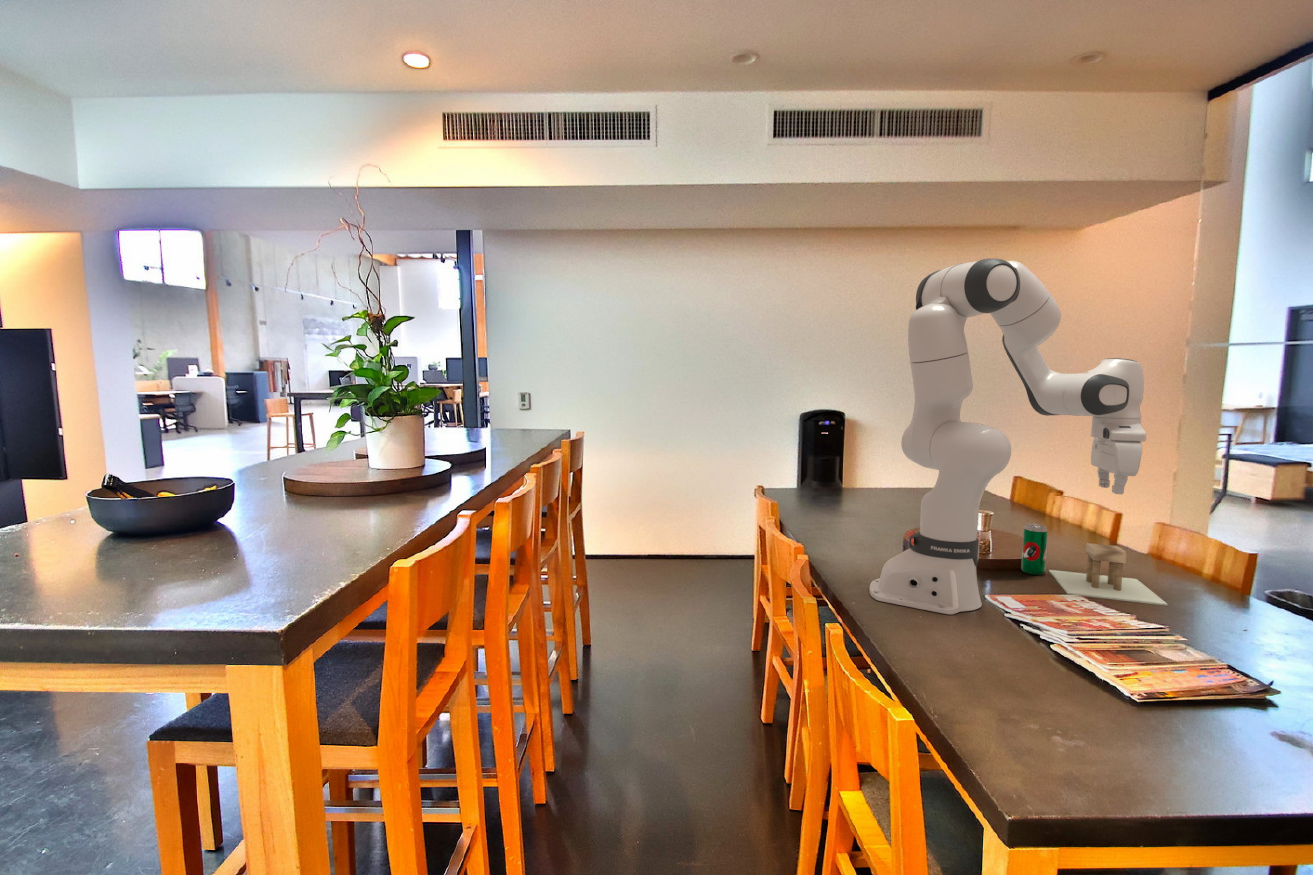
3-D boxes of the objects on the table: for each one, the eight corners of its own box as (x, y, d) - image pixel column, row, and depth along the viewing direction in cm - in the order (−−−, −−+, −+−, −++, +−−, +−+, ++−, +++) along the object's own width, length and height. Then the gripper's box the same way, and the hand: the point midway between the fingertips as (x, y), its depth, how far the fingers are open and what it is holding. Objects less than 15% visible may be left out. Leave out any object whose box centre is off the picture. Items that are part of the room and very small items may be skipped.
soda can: (1048, 576, 146) (1051, 528, 145) (1025, 575, 147) (1028, 527, 146) (1039, 570, 151) (1042, 523, 150) (1017, 568, 152) (1020, 522, 151)
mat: (1067, 594, 133) (1067, 592, 133) (1048, 571, 150) (1048, 569, 150) (1167, 605, 127) (1167, 604, 127) (1136, 580, 143) (1136, 578, 143)
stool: (1091, 587, 137) (1094, 549, 136) (1084, 579, 142) (1086, 543, 141) (1123, 591, 134) (1126, 552, 133) (1114, 583, 140) (1117, 545, 139)
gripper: (1085, 427, 146) (1081, 482, 147) (1113, 432, 127) (1108, 496, 128) (1116, 428, 144) (1112, 484, 145) (1149, 434, 125) (1144, 499, 126)
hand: (1110, 490), depth 136 cm, fingers open, 8 cm apart
